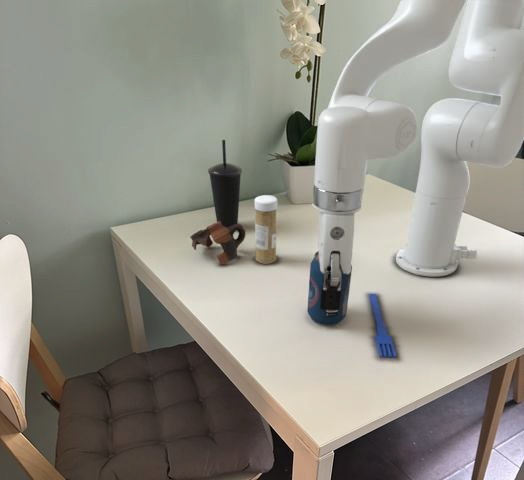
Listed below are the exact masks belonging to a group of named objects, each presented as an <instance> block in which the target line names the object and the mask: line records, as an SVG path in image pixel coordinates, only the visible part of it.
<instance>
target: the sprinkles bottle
mask: <svg viewBox="0 0 524 480" xmlns="http://www.w3.org/2000/svg"><path fill="white" fill-rule="evenodd" d="M277 209H278V198H277V197H276V196H274V195H269V194H264V195H258V196H256V197H255V198H254V210H255V222H254V226H255V227H254V231H255V234H254V235H255V238H254V239H255V261H256V262H258V263H260V264H263V265H267V264H272V263H274V262H276V260H277Z"/></svg>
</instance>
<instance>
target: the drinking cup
mask: <svg viewBox="0 0 524 480" xmlns="http://www.w3.org/2000/svg"><path fill="white" fill-rule="evenodd" d="M221 143H222V146H221V147H222V162H221V163H217V164H214V165H213V166H211V167H209V168H208V169H207V173H208V175H209V180H210V186H211V187H210V188H211V193H212V199H213V200H212V201H213V206H214V207H213V208H214V213H215V218H216V219H215V220H216V222H221V224H222V226H224V227H230V226H232V225H235V224H239V207H240V191H241V175H242V172H243V169H242V167H241V166H238V165H236V164H234V163H229V162H227V150H226V149H227V147H226V139H222V140H221Z"/></svg>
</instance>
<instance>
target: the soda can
mask: <svg viewBox="0 0 524 480" xmlns="http://www.w3.org/2000/svg"><path fill="white" fill-rule="evenodd" d="M330 258H331V255H330ZM352 270H353V265H352V264H351V272H350V273H349V274H344V273H343V271H342V274H341V298H340V307H339V310H321V309H320V300H321V288H322V287H323V283H324V274H323V273H322V272H321V271H320V261H319V250H318V251H316V252H315V253H314V256H313V259H311V262H310V266H309V279H308V295H307V308H306V309H307V310H306V311H307V314H308V316H309V318H310V319H311V320H312V322H313V323H315V324H317V325H320V326H324V327H332V326H337V325H338V324H341V322H342V321H343V320H344V319H345V317H347V313H348V305H349V298H350V297H349V296H350V290H351V289H350V287H351V280H352ZM327 271H331V267H327ZM328 280H330V275H328V276H327V281H328Z"/></svg>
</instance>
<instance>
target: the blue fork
mask: <svg viewBox="0 0 524 480" xmlns="http://www.w3.org/2000/svg"><path fill="white" fill-rule="evenodd" d="M368 296H369V299H370V304H371V308H372V309H371V310H372V313H373V317H374V321H375V325H376V326H375V330H376V334H377V335H374V338H375V342H376V346H377V351H378V356H379V358H383V356H384V358H387V357H388V358H392V356H393V358H394V359H395V358H397V354H396V349H395V346H394V342H393V338H392V335H388V330H387V327H386V326H385V324H384V319H383V316H382V313H381V308H380V305H379V301H378V296H377V293H369V295H368ZM382 353H383V354H382ZM387 354H388V355H387Z"/></svg>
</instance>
